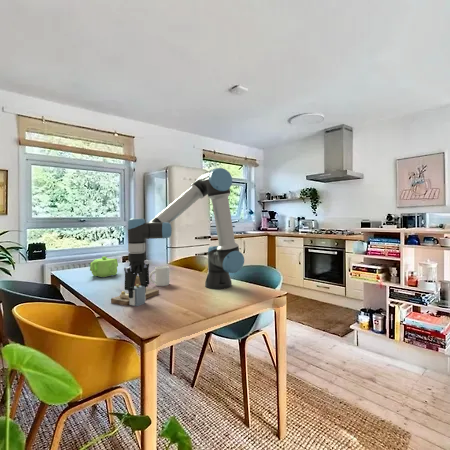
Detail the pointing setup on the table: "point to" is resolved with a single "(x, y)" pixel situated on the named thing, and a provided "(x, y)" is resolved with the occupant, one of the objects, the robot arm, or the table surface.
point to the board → (126, 301)
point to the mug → (160, 276)
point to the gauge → (136, 295)
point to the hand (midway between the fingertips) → (137, 302)
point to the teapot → (104, 267)
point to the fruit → (137, 281)
